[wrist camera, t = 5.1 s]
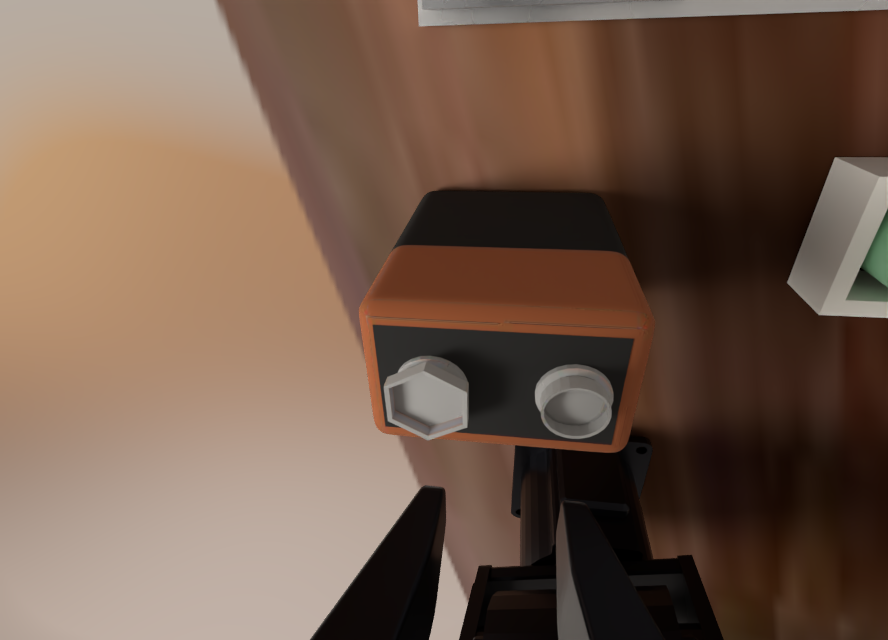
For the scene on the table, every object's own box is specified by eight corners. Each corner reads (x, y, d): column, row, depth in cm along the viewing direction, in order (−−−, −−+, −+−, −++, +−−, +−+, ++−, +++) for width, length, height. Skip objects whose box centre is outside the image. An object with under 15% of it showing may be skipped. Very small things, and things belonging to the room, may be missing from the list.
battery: (423, 186, 19) (338, 323, 10) (604, 189, 18) (675, 341, 9) (428, 287, 21) (362, 465, 13) (589, 293, 20) (635, 491, 12)
